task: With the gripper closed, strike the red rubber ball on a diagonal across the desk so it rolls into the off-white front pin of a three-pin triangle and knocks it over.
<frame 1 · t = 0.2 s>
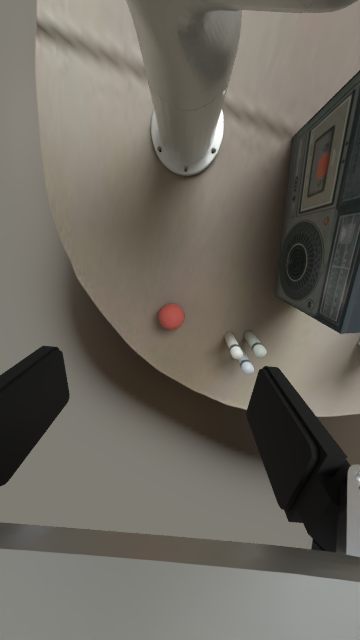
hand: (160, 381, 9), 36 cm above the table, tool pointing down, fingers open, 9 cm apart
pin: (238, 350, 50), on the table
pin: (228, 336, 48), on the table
cassette player: (299, 226, 38), on the table
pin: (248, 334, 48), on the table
ball: (171, 316, 43), on the table
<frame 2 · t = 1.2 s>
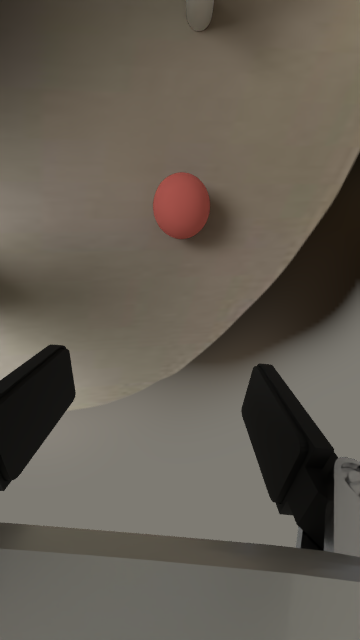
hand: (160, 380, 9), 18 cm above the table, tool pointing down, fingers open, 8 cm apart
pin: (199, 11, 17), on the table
ball: (181, 208, 20), on the table
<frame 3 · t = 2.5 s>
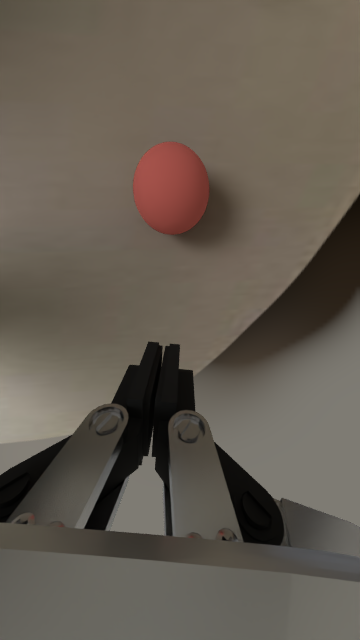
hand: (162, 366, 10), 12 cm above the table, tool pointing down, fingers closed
ball: (171, 193, 15), on the table
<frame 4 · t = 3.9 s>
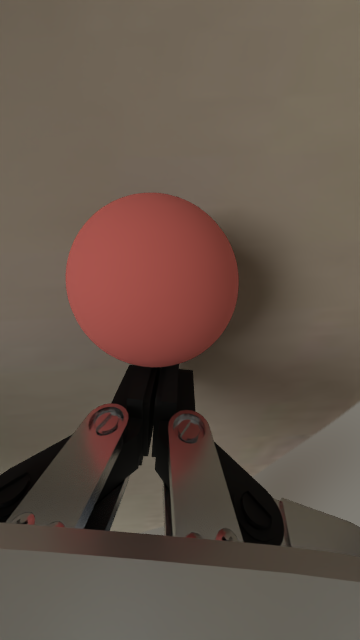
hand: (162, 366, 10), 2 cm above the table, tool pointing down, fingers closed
ball: (157, 287, 7), on the table
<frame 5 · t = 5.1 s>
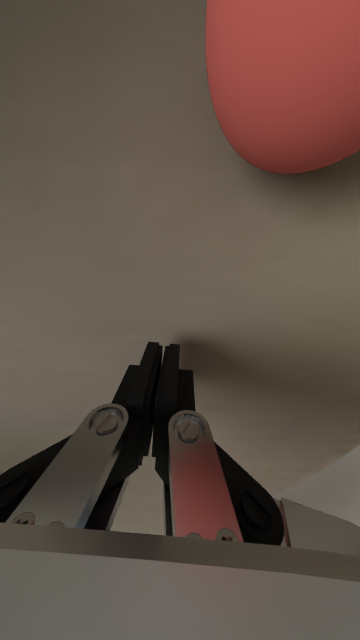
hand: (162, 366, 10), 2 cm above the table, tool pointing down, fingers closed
ball: (332, 13, 4), on the table
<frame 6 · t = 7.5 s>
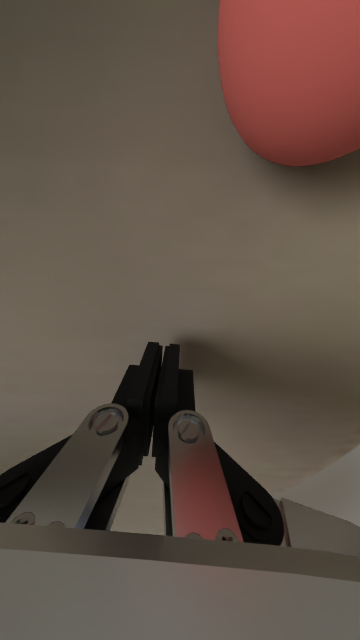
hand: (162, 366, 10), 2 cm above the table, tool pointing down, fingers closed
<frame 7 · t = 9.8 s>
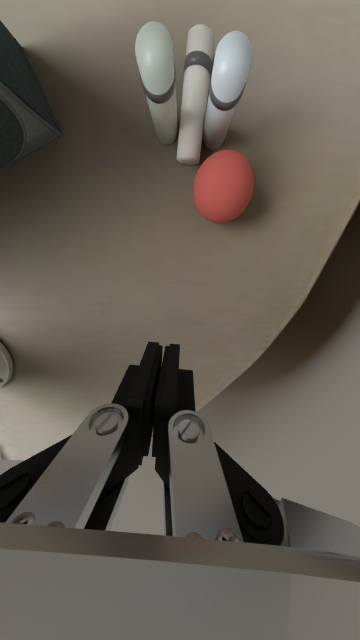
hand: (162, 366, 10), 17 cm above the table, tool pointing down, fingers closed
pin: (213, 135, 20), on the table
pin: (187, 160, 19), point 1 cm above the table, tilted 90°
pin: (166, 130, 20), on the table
ball: (222, 189, 19), on the table
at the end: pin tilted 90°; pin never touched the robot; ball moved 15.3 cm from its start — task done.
